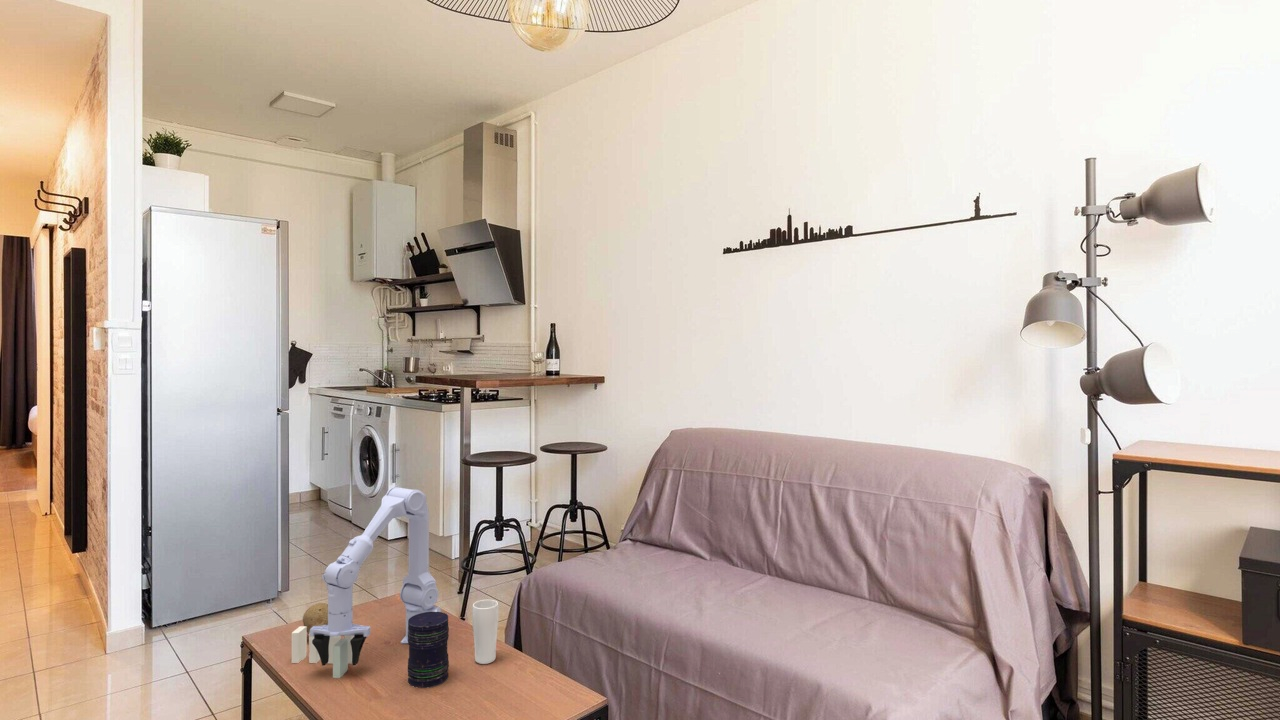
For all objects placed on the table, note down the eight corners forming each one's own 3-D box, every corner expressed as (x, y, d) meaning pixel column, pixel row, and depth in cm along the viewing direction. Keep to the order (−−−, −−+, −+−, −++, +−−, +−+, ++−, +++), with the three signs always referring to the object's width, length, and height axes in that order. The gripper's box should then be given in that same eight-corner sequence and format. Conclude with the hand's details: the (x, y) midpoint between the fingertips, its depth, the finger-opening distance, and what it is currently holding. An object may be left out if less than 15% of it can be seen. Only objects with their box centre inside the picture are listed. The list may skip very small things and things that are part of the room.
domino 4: (347, 669, 173) (347, 638, 173) (340, 678, 168) (340, 646, 168) (340, 669, 173) (340, 638, 173) (332, 678, 168) (332, 646, 168)
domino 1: (306, 656, 181) (306, 626, 181) (298, 663, 176) (298, 633, 176) (299, 656, 181) (299, 626, 181) (291, 663, 176) (291, 633, 176)
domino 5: (358, 656, 181) (358, 626, 181) (351, 663, 176) (351, 633, 176) (351, 656, 181) (351, 626, 181) (344, 663, 176) (344, 633, 176)
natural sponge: (330, 629, 198) (330, 595, 198) (343, 638, 192) (343, 603, 192) (298, 638, 192) (298, 603, 192) (309, 648, 185) (309, 611, 185)
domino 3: (341, 656, 181) (341, 626, 181) (333, 663, 176) (333, 633, 176) (334, 656, 181) (334, 626, 181) (326, 663, 176) (326, 633, 176)
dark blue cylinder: (406, 673, 171) (406, 614, 171) (446, 666, 175) (446, 609, 175) (409, 691, 162) (409, 629, 161) (451, 683, 165) (451, 623, 165)
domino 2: (323, 656, 181) (323, 626, 181) (316, 663, 176) (316, 633, 176) (317, 656, 181) (317, 626, 181) (309, 663, 176) (309, 633, 176)
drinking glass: (485, 668, 173) (485, 610, 173) (466, 662, 177) (466, 605, 177) (503, 658, 179) (503, 602, 179) (485, 652, 183) (485, 597, 183)
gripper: (303, 616, 166) (303, 671, 166) (362, 616, 166) (362, 671, 166) (317, 605, 173) (317, 658, 173) (373, 605, 173) (373, 658, 173)
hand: (340, 663), depth 170 cm, fingers open, 7 cm apart
